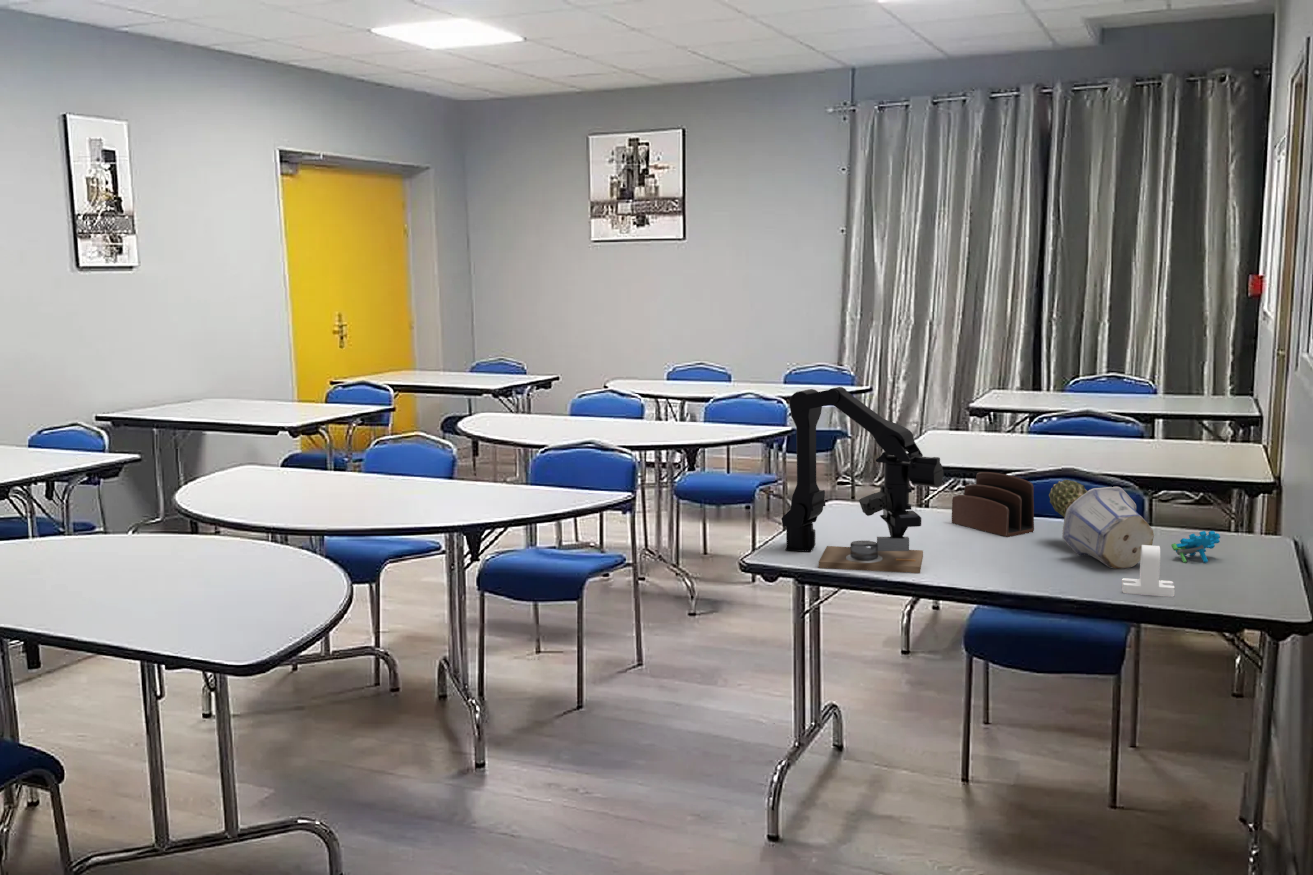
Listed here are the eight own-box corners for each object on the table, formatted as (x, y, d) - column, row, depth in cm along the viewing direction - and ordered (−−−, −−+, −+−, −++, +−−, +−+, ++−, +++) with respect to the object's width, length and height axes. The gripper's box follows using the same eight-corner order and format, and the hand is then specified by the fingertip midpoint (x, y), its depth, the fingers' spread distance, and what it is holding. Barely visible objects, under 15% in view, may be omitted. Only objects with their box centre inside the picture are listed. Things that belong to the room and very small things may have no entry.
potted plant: (1172, 507, 245) (1097, 454, 273) (1099, 516, 242) (1030, 462, 269) (1160, 575, 252) (1088, 517, 279) (1088, 585, 249) (1022, 525, 276)
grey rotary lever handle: (851, 559, 255) (851, 540, 254) (849, 552, 261) (849, 534, 261) (910, 559, 254) (910, 540, 253) (906, 552, 260) (906, 534, 259)
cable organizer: (1174, 597, 228) (1176, 550, 226) (1122, 593, 231) (1124, 547, 230) (1172, 590, 233) (1174, 544, 231) (1121, 586, 236) (1123, 541, 235)
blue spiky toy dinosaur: (1211, 547, 260) (1223, 525, 252) (1221, 568, 256) (1234, 547, 248) (1164, 554, 260) (1175, 532, 252) (1174, 576, 257) (1185, 554, 249)
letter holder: (977, 518, 302) (978, 468, 300) (1034, 532, 285) (1036, 479, 283) (950, 523, 297) (951, 472, 295) (1007, 538, 280) (1008, 483, 278)
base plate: (818, 568, 256) (818, 560, 256) (827, 551, 271) (827, 544, 270) (920, 573, 250) (920, 565, 250) (923, 556, 264) (923, 549, 264)
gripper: (851, 474, 265) (851, 537, 268) (874, 492, 247) (873, 559, 250) (896, 473, 266) (895, 535, 269) (923, 490, 248) (921, 557, 251)
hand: (895, 546), depth 259 cm, fingers closed
